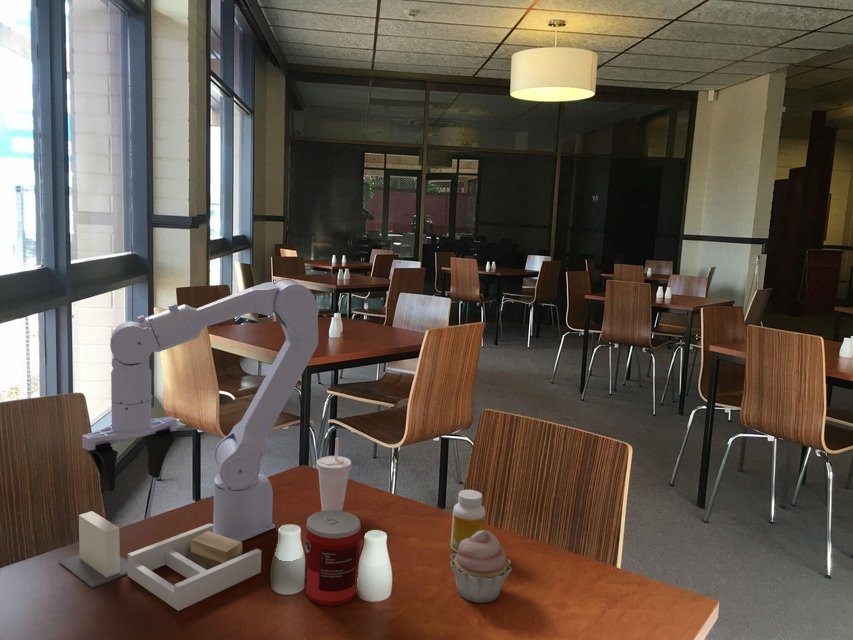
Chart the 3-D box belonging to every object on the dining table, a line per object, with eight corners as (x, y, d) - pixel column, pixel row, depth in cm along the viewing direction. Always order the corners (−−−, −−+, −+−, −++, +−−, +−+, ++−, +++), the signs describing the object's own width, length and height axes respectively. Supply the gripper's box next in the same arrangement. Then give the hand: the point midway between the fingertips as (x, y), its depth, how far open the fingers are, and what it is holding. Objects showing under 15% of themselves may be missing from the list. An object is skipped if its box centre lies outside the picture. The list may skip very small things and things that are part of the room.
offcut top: (207, 542, 108) (207, 531, 107) (242, 554, 105) (242, 542, 104) (190, 551, 104) (191, 539, 104) (226, 564, 101) (226, 551, 101)
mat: (104, 546, 108) (104, 545, 108) (138, 569, 102) (138, 567, 102) (59, 563, 103) (59, 561, 103) (92, 588, 97) (92, 586, 97)
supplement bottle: (485, 556, 113) (490, 500, 111) (453, 556, 112) (457, 501, 111) (478, 540, 118) (482, 487, 117) (447, 541, 117) (451, 487, 116)
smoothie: (356, 510, 127) (359, 438, 125) (334, 522, 122) (337, 447, 119) (329, 501, 130) (332, 431, 128) (307, 512, 125) (309, 439, 123)
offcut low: (206, 554, 109) (207, 540, 108) (243, 575, 104) (244, 559, 103) (187, 563, 106) (188, 548, 106) (224, 584, 101) (224, 568, 100)
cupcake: (455, 612, 96) (460, 546, 95) (441, 577, 106) (445, 516, 104) (518, 608, 98) (524, 543, 97) (499, 574, 107) (504, 514, 106)
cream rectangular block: (92, 553, 105) (92, 511, 104) (119, 572, 101) (119, 527, 100) (79, 558, 104) (78, 515, 103) (106, 577, 99) (105, 532, 98)
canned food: (326, 572, 105) (328, 504, 103) (368, 589, 101) (371, 519, 99) (292, 594, 98) (294, 522, 97) (335, 613, 94) (339, 539, 93)
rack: (209, 543, 111) (209, 523, 111) (260, 572, 104) (261, 550, 103) (127, 576, 100) (127, 553, 100) (178, 611, 93) (178, 587, 92)
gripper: (159, 386, 114) (159, 464, 116) (71, 402, 103) (73, 487, 105) (184, 395, 110) (183, 475, 112) (95, 412, 99) (96, 501, 101)
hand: (132, 482), depth 108 cm, fingers open, 7 cm apart
